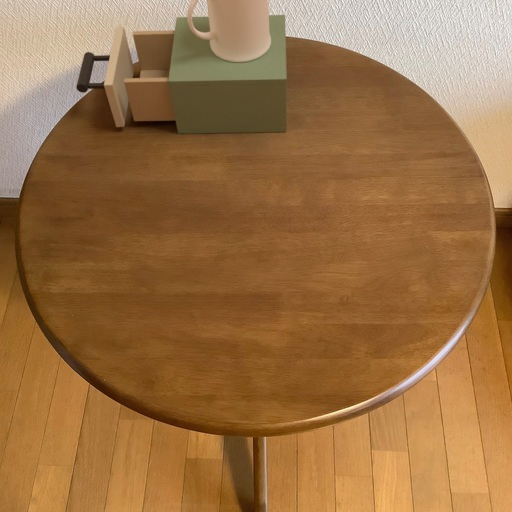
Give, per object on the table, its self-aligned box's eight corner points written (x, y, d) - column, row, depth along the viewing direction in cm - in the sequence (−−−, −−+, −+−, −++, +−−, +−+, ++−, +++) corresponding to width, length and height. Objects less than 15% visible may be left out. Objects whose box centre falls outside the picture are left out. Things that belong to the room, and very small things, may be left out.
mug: (206, 79, 84) (196, -1, 74) (178, 44, 89) (165, -37, 79) (282, 49, 87) (282, -33, 77) (252, 16, 91) (248, -65, 82)
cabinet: (178, 133, 93) (168, 81, 84) (184, 70, 100) (176, 17, 92) (286, 132, 92) (286, 78, 84) (284, 68, 100) (285, 14, 92)
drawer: (82, 127, 93) (67, 85, 86) (95, 70, 100) (82, 27, 93) (215, 125, 92) (210, 82, 85) (219, 67, 99) (215, 24, 92)
